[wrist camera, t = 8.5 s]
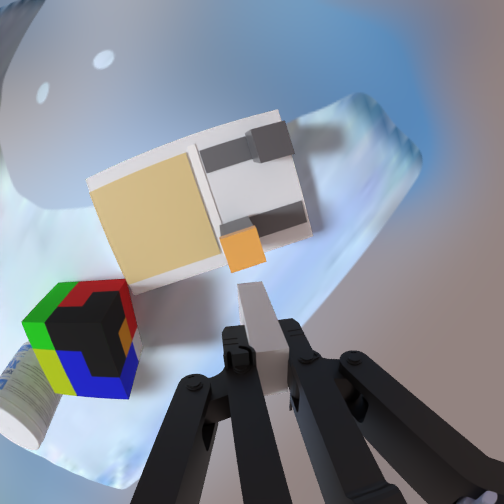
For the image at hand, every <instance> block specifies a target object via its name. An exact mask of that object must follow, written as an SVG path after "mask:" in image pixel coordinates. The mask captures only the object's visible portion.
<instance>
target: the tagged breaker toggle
mask: <svg viewBox="0 0 504 504" xmlns="http://www.w3.org/2000/svg"><path fill="white" fill-rule="evenodd" d="M219 226H220V236H221V237H219V240H220V243H221V245H222V248H223V251H224V254H225V256H226V259H227V262H228V265H229V268H230V270H231V273H233V272H236V271H239V270H242V269H246V268H249V267H252V266H254V265H257V264H260V263H263V262H266V258H265V255H264V252H263V248H262V245H261V242H260V239H259V235H258V232H257V229H256V227H255V225H254V226H253V224H252V222H251V221H250V219H249V217H248V216H246V217H243V218H240V219H237V220H234V221H231V222H228V223H225V224H222V225H219Z"/></svg>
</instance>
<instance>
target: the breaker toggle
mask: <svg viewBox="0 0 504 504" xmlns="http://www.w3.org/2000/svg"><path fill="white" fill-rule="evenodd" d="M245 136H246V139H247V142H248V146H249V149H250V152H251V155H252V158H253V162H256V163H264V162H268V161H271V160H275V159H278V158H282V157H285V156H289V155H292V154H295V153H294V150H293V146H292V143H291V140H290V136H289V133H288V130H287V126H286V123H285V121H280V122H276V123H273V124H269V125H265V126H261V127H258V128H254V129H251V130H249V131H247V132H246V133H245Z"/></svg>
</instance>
